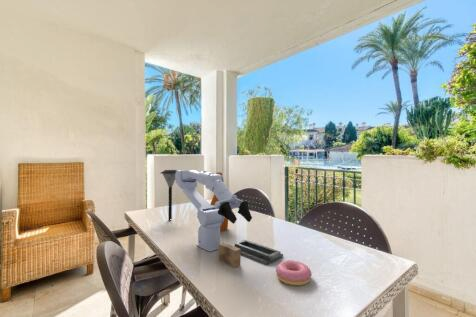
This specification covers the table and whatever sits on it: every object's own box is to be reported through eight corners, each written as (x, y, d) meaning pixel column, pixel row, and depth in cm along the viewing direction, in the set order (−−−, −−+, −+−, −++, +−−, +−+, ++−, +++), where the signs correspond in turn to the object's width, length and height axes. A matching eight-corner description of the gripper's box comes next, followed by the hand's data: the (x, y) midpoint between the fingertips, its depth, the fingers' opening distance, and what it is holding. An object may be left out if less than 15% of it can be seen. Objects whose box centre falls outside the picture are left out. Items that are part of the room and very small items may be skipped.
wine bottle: (206, 231, 119) (206, 172, 118) (213, 225, 128) (213, 171, 128) (225, 233, 116) (225, 173, 116) (230, 227, 126) (230, 171, 126)
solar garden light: (158, 218, 142) (158, 169, 142) (178, 216, 148) (178, 169, 147) (160, 223, 131) (161, 170, 131) (182, 221, 136) (182, 170, 136)
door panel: (218, 260, 86) (218, 243, 86) (223, 258, 87) (223, 242, 87) (235, 268, 79) (235, 250, 79) (240, 266, 81) (240, 248, 81)
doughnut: (285, 267, 81) (285, 255, 81) (317, 277, 74) (317, 264, 74) (269, 279, 72) (269, 266, 72) (302, 292, 65) (302, 278, 65)
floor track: (231, 250, 94) (231, 244, 94) (247, 244, 101) (247, 238, 101) (267, 265, 81) (267, 258, 81) (283, 256, 89) (283, 250, 89)
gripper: (213, 187, 85) (232, 213, 76) (242, 187, 95) (261, 211, 86) (206, 201, 87) (223, 228, 78) (234, 201, 97) (252, 225, 88)
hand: (242, 220), depth 82 cm, fingers open, 7 cm apart
